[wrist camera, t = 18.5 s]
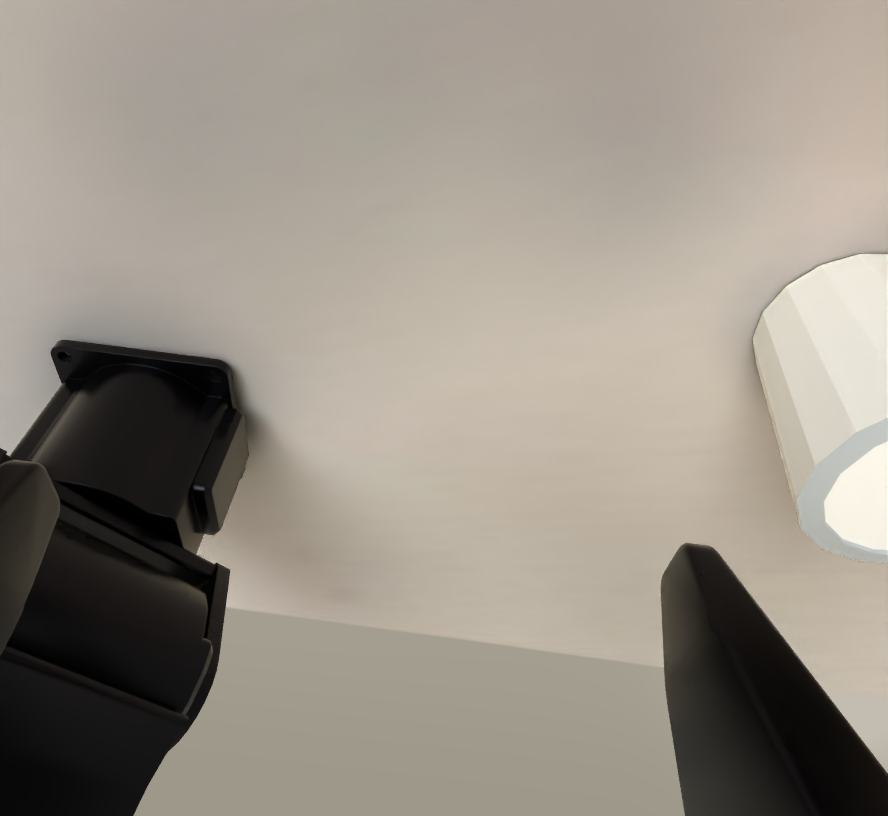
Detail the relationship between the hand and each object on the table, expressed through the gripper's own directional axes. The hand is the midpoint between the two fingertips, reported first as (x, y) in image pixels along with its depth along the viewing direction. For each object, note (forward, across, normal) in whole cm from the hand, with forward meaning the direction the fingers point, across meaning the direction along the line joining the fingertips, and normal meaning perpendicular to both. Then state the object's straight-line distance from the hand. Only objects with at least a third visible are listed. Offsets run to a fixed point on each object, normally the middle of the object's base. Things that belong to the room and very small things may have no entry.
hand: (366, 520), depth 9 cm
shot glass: (+13, -14, +4) cm, 20 cm away
